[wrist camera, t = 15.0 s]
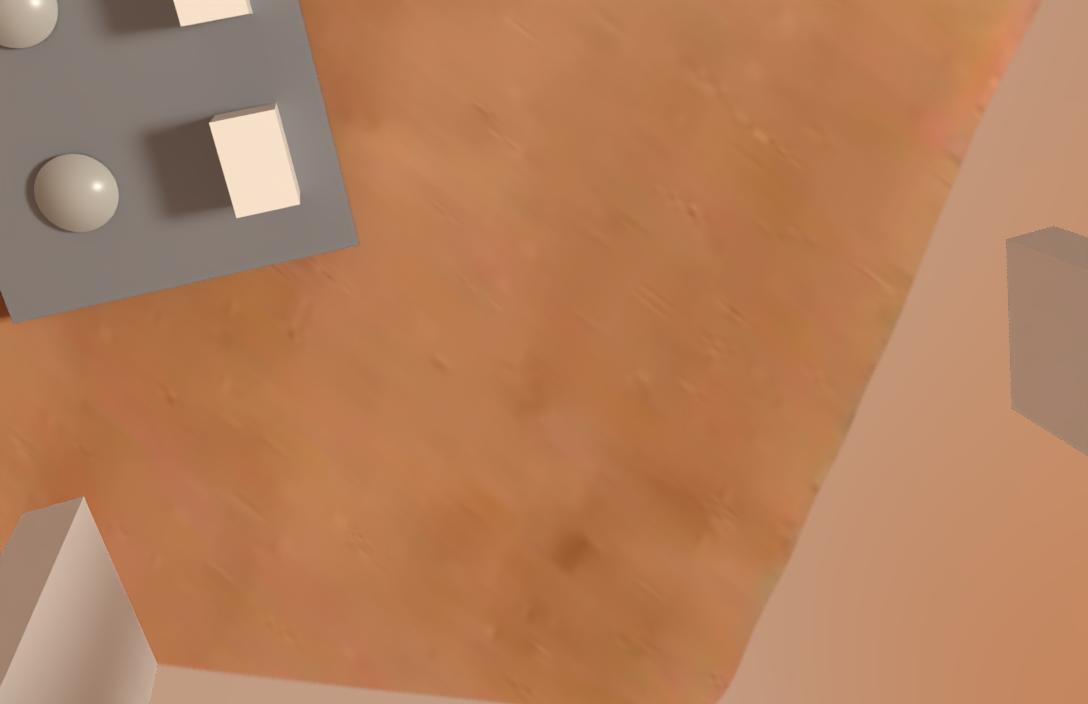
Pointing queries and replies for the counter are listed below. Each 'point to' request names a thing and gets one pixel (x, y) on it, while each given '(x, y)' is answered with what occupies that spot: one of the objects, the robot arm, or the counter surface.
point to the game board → (158, 148)
